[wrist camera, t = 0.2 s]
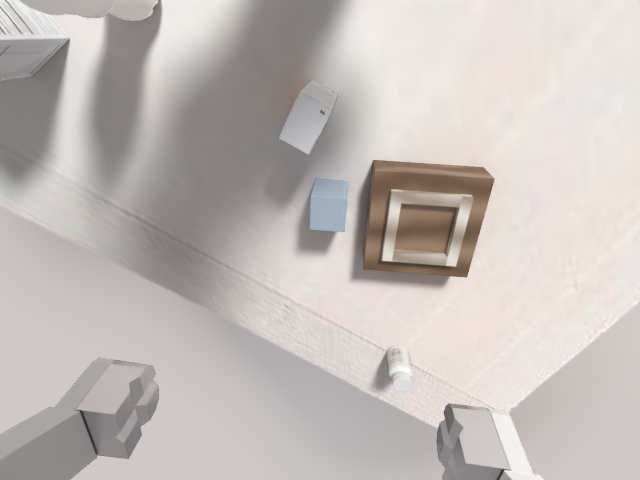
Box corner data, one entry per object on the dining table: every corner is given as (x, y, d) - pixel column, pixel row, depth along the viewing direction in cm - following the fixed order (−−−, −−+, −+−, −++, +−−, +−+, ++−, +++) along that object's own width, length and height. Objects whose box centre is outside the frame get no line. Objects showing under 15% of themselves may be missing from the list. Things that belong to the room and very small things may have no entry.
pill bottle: (382, 355, 74) (385, 387, 67) (394, 341, 72) (398, 373, 65) (401, 364, 74) (405, 396, 68) (413, 350, 72) (419, 382, 66)
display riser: (373, 160, 55) (375, 173, 50) (483, 167, 55) (497, 181, 49) (362, 252, 63) (363, 273, 58) (459, 260, 62) (469, 281, 57)
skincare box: (311, 78, 51) (300, 89, 40) (338, 94, 51) (334, 109, 41) (292, 119, 54) (276, 139, 43) (318, 133, 54) (309, 156, 44)
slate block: (315, 178, 58) (310, 196, 51) (348, 180, 57) (347, 199, 51) (314, 208, 60) (309, 229, 53) (345, 210, 60) (344, 232, 53)
